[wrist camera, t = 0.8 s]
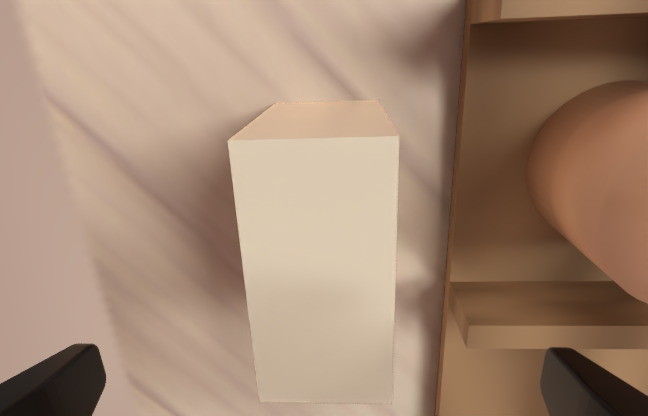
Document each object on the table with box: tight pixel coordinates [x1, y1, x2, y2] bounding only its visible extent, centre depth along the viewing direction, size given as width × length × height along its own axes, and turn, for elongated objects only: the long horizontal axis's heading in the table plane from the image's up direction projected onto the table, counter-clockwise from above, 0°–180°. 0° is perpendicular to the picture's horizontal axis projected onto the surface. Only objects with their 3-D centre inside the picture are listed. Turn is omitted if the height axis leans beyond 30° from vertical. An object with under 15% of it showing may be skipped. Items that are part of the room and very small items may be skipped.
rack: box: [435, 0, 648, 416], centre depth 17 cm, size 11×23×4 cm, turn 2°
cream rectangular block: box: [227, 100, 399, 404], centre depth 14 cm, size 4×8×7 cm, turn 2°
